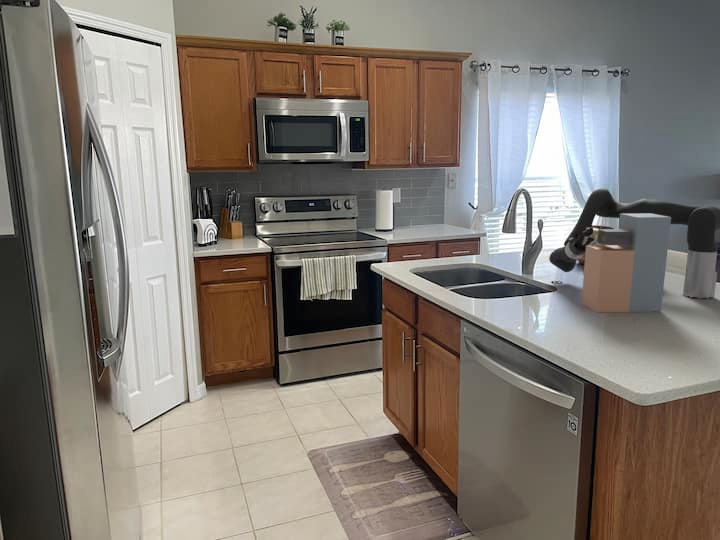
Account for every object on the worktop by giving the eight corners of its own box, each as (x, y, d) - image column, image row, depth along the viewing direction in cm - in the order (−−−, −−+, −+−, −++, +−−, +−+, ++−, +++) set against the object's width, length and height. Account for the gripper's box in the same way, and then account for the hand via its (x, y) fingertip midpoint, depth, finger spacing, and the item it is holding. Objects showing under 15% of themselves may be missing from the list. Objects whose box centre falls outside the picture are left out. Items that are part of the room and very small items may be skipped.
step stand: (642, 302, 197) (651, 213, 191) (660, 311, 186) (671, 217, 179) (581, 303, 197) (588, 213, 190) (596, 312, 185) (604, 217, 179)
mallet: (578, 235, 202) (579, 223, 201) (600, 235, 202) (601, 223, 201) (605, 245, 181) (606, 231, 180) (629, 244, 182) (630, 231, 181)
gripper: (558, 237, 213) (576, 220, 197) (594, 237, 214) (614, 219, 197) (561, 256, 211) (579, 239, 195) (597, 255, 211) (618, 239, 195)
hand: (597, 229), depth 196 cm, fingers closed on mallet, 3 cm apart
